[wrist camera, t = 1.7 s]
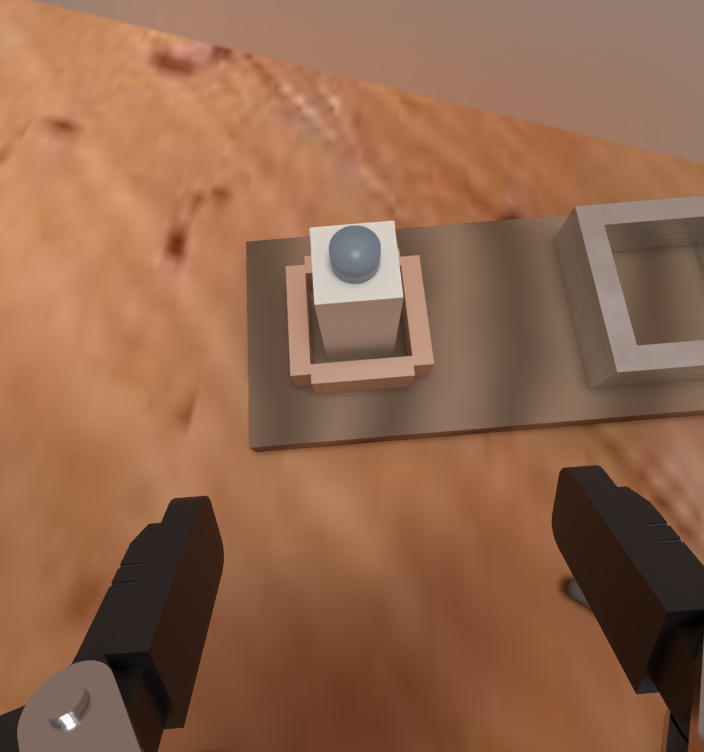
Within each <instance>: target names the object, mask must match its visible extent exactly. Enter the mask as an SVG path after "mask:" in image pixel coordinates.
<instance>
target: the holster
mask: <svg viewBox="0 0 704 752" xmlns="http://www.w3.org/2000/svg"><path fill="white" fill-rule="evenodd" d="M397 249H398V257H399V265H400V273H401V281H402V289H403V303H402V316H403V325H404V333H405V341H406V350H407V356H405V357H393V358H381V359H369V360H357V361H345V362H333V363H321V364H314V358H313V341H312V324H311V307H310V291H314V290H313V274H312V258H311V256H304V260H305V265H296V266H286V285H287V308H288V332H289V355H290V376H291V378H292V380H293V382H294V384H295V386H296V387H301V386H312V387H313V389H314V392H315V394H327V393H339V392H351V391H363V390H375V389H387V388H399V387H411V385H412V382H413V379H414V377H420V376H429V374H430V372H431V370H432V368H433V365H434V359H433V352H432V344H431V337H430V330H429V323H428V315H427V308H426V301H425V293H424V286H423V279H422V271H421V264H420V257H419V255H415V256H403V257H400V251H399V248H397Z"/></svg>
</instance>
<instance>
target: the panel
mask: <svg viewBox="0 0 704 752" xmlns="http://www.w3.org/2000/svg"><path fill="white" fill-rule="evenodd" d="M568 216H569V215H559V216H547V217H535V218H523V219H512V220H500V221H488V222H476V223H464V224H452V225H440V226H428V227H416V228H404V229H395V232H396V240H397V248H399V251H400V257H403V256H415V255H419V257H420V264H421V271H422V279H423V286H424V293H425V301H426V308H427V315H428V323H429V330H430V337H431V344H432V352H433V359H434V365H433V368H432V370H431V372H430V374H429V376H420V377H414V379H413V382H412V385H411V387H399V388H387V389H375V390H363V391H351V392H339V393H327V394H315V392H314V389H313V387H312V386H301V387H296V386H295V384H294V382H293V380H292V378H291V376H290V355H289V332H288V308H287V285H286V266H296V265H305V260H304V256H311V242H310V236H309V237H297V238H285V239H274V240H262V241H250V242H246V250H247V311H248V372H249V434H250V448H251V449H253V450H254V451H256V452H259V451H271V450H283V449H295V448H307V447H319V446H331V445H343V444H355V443H367V442H379V441H391V440H403V439H415V438H427V437H439V436H451V435H463V434H475V433H487V432H499V431H511V430H523V429H535V428H547V427H559V426H571V425H583V424H595V423H607V422H619V421H631V420H643V419H655V418H667V417H679V416H691V415H703V414H704V380H697V381H685V382H673V383H661V384H649V385H637V386H625V387H613V388H601V389H589V390H588V389H587V384H586V380H585V376H584V372H583V367H582V363H581V359H580V354H579V350H578V346H577V342H576V337H575V333H574V329H573V324H572V320H571V316H570V311H569V307H568V303H567V299H566V294H565V290H564V286H563V281H562V277H561V273H560V269H559V264H558V260H557V256H556V251H555V247H554V243H553V239H554V237H555V236H556V234H557V233H558V231H559V230H560V228H561V227H562V225H563V224H564V222H565V221H566V219H567V218H568ZM612 255H613V259H614V263H615V266H616V270H617V274H618V277H619V281H620V285H621V288H622V292H623V296H624V299H625V303H626V307H627V310H628V314H629V318H630V321H631V325H632V329H633V333H634V336H635V340H636V344H637V346H638V345H650V344H662V343H674V342H686V341H698V340H704V277H703V274H702V271H701V268H700V265H699V262H698V259H697V256H696V253H695V250H694V247H685V248H673V249H661V250H649V251H637V252H625V253H613V254H612ZM310 307H311V324H312V341H313V358H314V364H321V363H333V362H345V361H357V360H369V359H381V358H393V357H405V356H407V350H406V341H405V333H404V325H403V316H402V309H401V314H400V320H399V326H398V331H397V337H396V343H395V348H394V354H393V356H389V357H377V358H365V359H353V360H342V361H330V362H328V360H327V356H326V352H325V348H324V344H323V339H322V335H321V331H320V327H319V322H318V318H317V314H316V310H315V305H314V291H310Z"/></svg>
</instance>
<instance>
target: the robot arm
mask: <svg viewBox="0 0 704 752" xmlns="http://www.w3.org/2000/svg"><path fill="white" fill-rule="evenodd" d="M552 530H553V534H554V538H555V541H556V544H557V546H558V548H559V550H560V552H561V553H562V555H563V557H564V559H565V561H566V563H567V565H568V567H569V568H570V570H571V572H572V574H573V576H574V578H575V580H576V582H577V583H578V585H579V587H580V589H581V591H582V593H583V595H584V597H585V598H586V600H587V602H588V604H589V606H590V608H591V610H592V612H593V614H594V615H595V617H596V619H597V621H598V623H599V625H600V627H601V629H602V630H603V632H604V634H605V636H606V638H607V640H608V642H609V644H610V645H611V647H612V649H613V651H614V653H615V655H616V657H617V659H618V660H619V662H620V664H621V666H622V668H623V670H624V672H625V674H626V675H627V677H628V679H629V681H630V683H631V685H632V687H633V689H634V690H635V692H636V694H643V693H656V692H659V693H660V695H661V696H662V698H663V700H664V701H665V703H666V705H667V707H668V709H667V711H666V714H665V719H664V727H663V735H662V744H661V752H704V566H703V565H702V563H701V562H700V561H699V560H698V559H697V557H696V556H695V555H694V554H693V553H692V551H691V550H690V549H689V548H688V547H687V545H686V544H685V543H684V542H683V543H682V542H681V540H680V537H679V536H678V535H677V534H676V532H675V531H674V530H673V529H672V528H671V526H668V525H667V522H666V520H665V519H664V518H663V517H662V516H661V515H660V513H659V512H658V511H657V510H656V509H655V507H654V506H653V505H652V504H651V503H650V502H649V501H648V500H646V499H645V498H643V497H642V496H640V495H639V494H637V493H636V492H634V491H633V490H631V489H630V488H628V487H617V486H616V485H615V483H614V482H613V481H612V480H611V478H610V477H609V476H608V475H607V473H606V472H605V471H604V470H603V469H602V468H601V467H600V466H598V465H593V466H581V467H568V468H563V469H562V470H561V471H560V474H559V478H558V484H557V490H556V496H555V502H554V508H553V513H552ZM223 563H224V550H223V543H222V539H221V536H220V532H219V529H218V525H217V522H216V518H215V515H214V511H213V508H212V504H211V501H210V499H209V497H208V496H197V497H184V498H174V499H172V500H171V502H170V503H169V505H168V508H167V510H166V512H165V515H164V517H163V519H162V522H161V523H155V524H148V525H147V526H146V527H145V529H144V530H143V531H142V532H141V533H140V534H139V535H138V536H137V537H136V538H135V539H134V540H133V541H132V542H131V543H130V545H129V548H128V550H127V552H126V554H125V556H124V558H123V560H122V562H121V564H120V565H121V567H120V569H118V570H117V572H116V574H115V576H114V579H113V581H112V586H111V587H109V589H108V591H107V593H106V595H105V597H104V599H103V601H102V603H101V605H100V607H99V610H98V612H97V614H96V616H95V618H94V620H93V622H92V624H91V626H90V628H89V630H88V632H87V634H86V636H85V638H84V641H83V643H82V645H81V647H80V649H79V651H78V653H77V655H76V657H75V659H74V660H73V662H72V664H71V665H70V666H67V667H65V668H64V669H62V670H60V671H58V672H57V673H55V674H54V675H53V676H51V677H50V678H49V679H48V680H46V681H45V682H44V683H43V684H42V685H41V686H40V687H39V688H38V689H37V690H36V692H35V693H34V694H33V695H32V697H31V698H30V699H29V701H28V702H27V704H26V705H25V706H22V707H20V708H18V709H16V710H13V711H11V712H8V713H6V714H3V715H0V752H157V751H158V748H159V744H160V741H161V737H162V733H163V730H164V729H173V728H184V724H185V720H186V716H187V712H188V708H189V704H190V700H191V696H192V692H193V688H194V684H195V680H196V676H197V672H198V668H199V664H200V660H201V656H202V652H203V647H204V643H205V639H206V635H207V631H208V627H209V623H210V619H211V615H212V611H213V607H214V603H215V599H216V595H217V591H218V587H219V583H220V579H221V575H222V570H223Z"/></svg>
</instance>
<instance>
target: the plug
mask: <svg viewBox="0 0 704 752" xmlns="http://www.w3.org/2000/svg"><path fill="white" fill-rule="evenodd" d="M310 242H311V258H312V274H313V290H314V305H315V310H316V314H317V318H318V322H319V327H320V331H321V335H322V339H323V344H324V348H325V352H326V356H327V360H328V362H330V361H342V360H353V359H365V358H377V357H389V356H393V354H394V348H395V343H396V337H397V331H398V326H399V320H400V314H401V309H402V303H403V289H402V281H401V273H400V265H399V257H398V249H397V240H396V232H395V224H394V221H384V222H372V223H360V224H348V225H336V226H324V227H312V228H310Z"/></svg>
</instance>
